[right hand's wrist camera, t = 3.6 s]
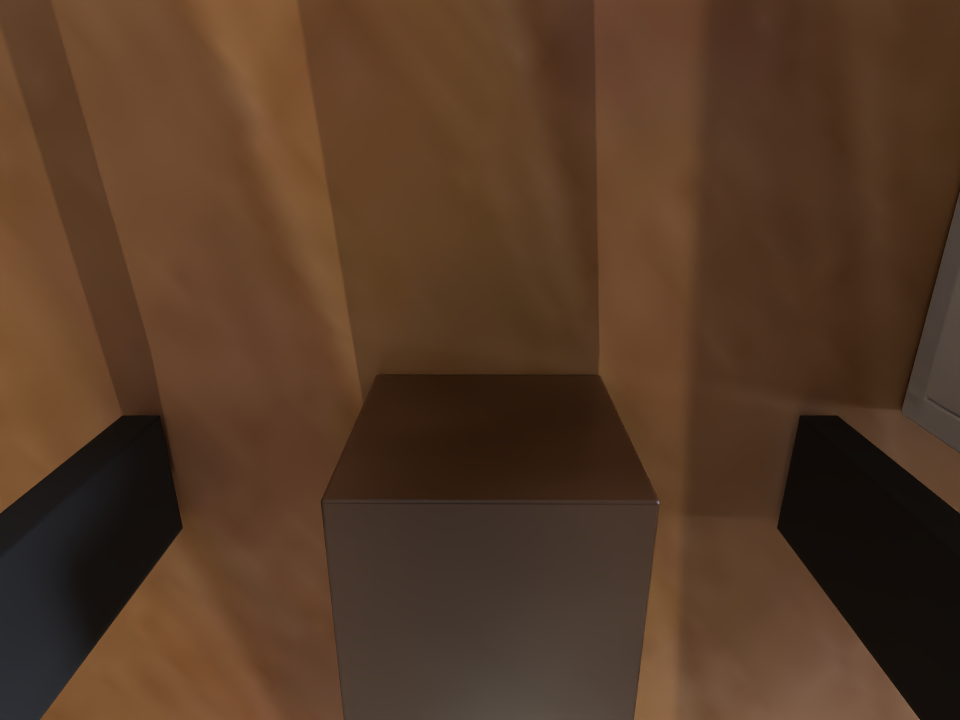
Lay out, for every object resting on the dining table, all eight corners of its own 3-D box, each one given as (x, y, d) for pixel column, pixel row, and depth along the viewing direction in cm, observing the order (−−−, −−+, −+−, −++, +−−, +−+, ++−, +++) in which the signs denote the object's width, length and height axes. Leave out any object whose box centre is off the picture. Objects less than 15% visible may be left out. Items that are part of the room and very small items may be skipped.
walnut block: (600, 374, 12) (661, 501, 8) (586, 559, 14) (631, 746, 10) (375, 373, 12) (319, 500, 8) (387, 558, 14) (345, 744, 10)
